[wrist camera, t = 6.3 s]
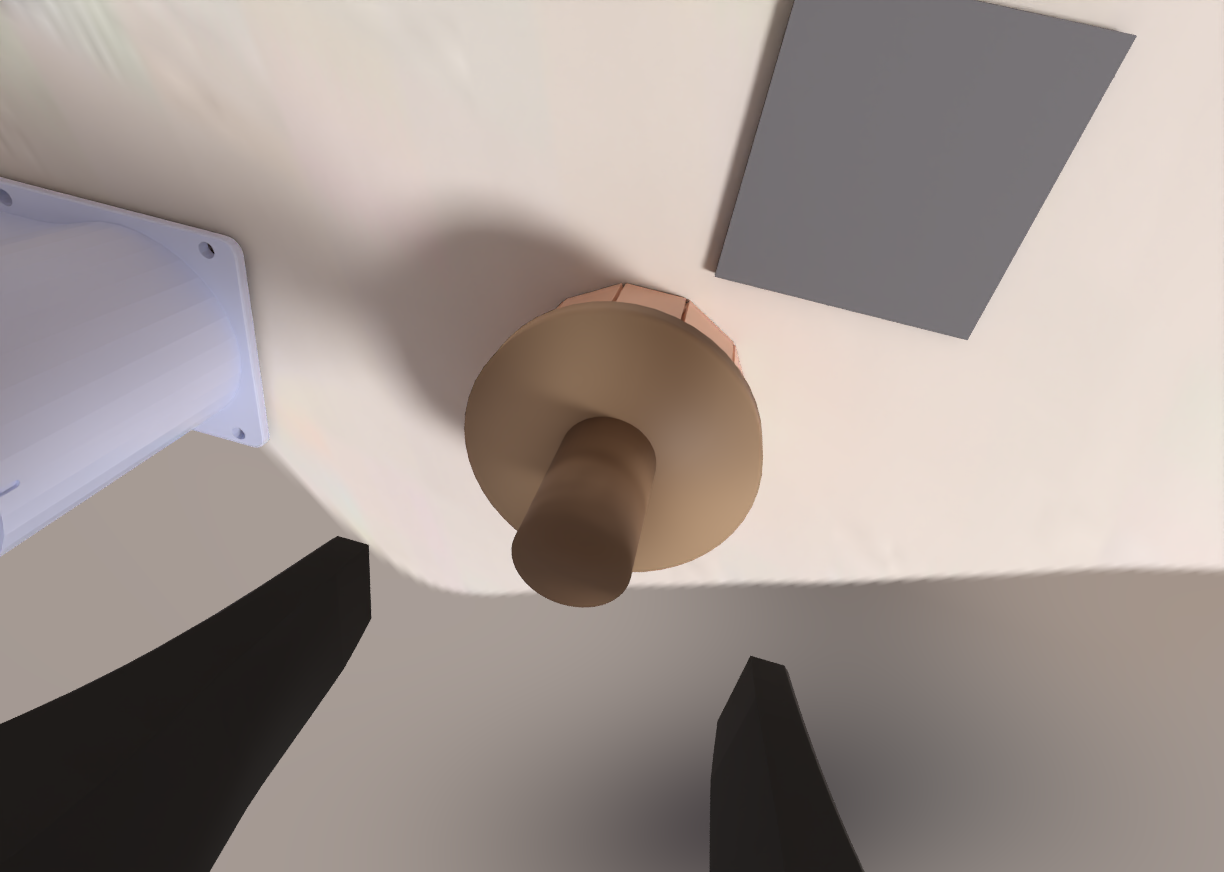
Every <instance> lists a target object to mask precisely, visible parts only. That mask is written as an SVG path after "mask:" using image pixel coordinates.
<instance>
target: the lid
mask: <svg viewBox="0 0 1224 872" xmlns="http://www.w3.org/2000/svg"><path fill="white" fill-rule="evenodd" d="M464 431H465V443H466V449H467V453H468V458H469V462H470V464H471V467H472V470H473V472H474V475H475V477H476V479H477V481H478V483H479V485H480V487H481V489H482V491H483V492H484V494H485V495H486V497H487V498H488V500H489V501H490V503H491V504H492V505H493V507H494V508H495V509H496V510H497V511H498V512H499V514H500V515H501V516H502V517H503V518H504V519H505V520H506V521H507V522H508V523H509V524H510V525H511V526H512V527H513V528H514V529H516V530H517V533H516V535H515V537H514V540H513V543H512V559H513V563H514V565H515V568H516V570H517V572H518V573H519V575H520V576H521V578H522V579H523V580H524V581H525V582H526V584H528V585H529V586H530V587H531V588H532V589H533V590H535V591H536V592H537V593H539V594H540V595H542V596H544V597H545V598H547V599H550V600H552V601H554V602H557V603H560V604H563V605H567V606H573V607H595V606H600V605H603V604H606V603H609V602H611V601H613V600H614V599H616V598H617V597H619V596H620V595H621V594H622V593H623V592H624V591H625V589H626V588H627V586H628V584H629V582H630V578H631V574H632V572H647V571H655V570H662V569H666V568H670V567H675V566H678V565H681V564H684V563H687V562H689V561H692V560H694V559H696V558H698V557H700V556H702V555H704V554H706V553H708V552H709V551H711V550H712V549H714V548H715V547H717V546H718V545H720V544H721V543H722V542H723V541H725V540H726V539H727V538H728V537H729V536H730V535H731V534H732V533H733V532H734V531H735V530H736V529H737V528H738V526H739V525H740V524H741V523H742V522H743V520H744V519H745V517H746V515H747V514H748V512H749V510H750V509H751V507H752V505H753V502H754V500H755V497H756V495H757V493H758V489H759V485H760V480H761V476H762V463H763V446H762V430H761V420H760V416H759V412H758V408H757V404H756V401H755V399H754V396H753V394H752V392H751V389H750V387H749V385H748V383H747V381H746V380H745V378H744V376H743V375H742V373H741V371H740V370H739V368H738V367H737V366H736V365H735V363H734V362H733V361H732V360H731V358H730V357H729V356H728V355H727V354H726V353H725V352H724V351H723V350H722V349H721V348H720V347H719V346H718V345H717V344H716V343H715V342H714V341H713V340H712V339H710V338H709V337H707V336H706V335H705V334H703V333H702V332H701V331H699V330H698V329H696V328H695V327H693V326H692V325H690V324H688V323H686V322H684V321H682V320H681V319H679V318H677V317H675V316H672V315H670V314H667V313H664V312H662V311H659V310H657V309H653V308H650V307H646V306H642V305H638V304H632V303H624V302H616V301H592V302H585V303H578V304H572V305H568V306H565V307H561V308H558V309H554V310H552V311H550V312H547V313H545V314H543V315H541V316H538V317H536V318H535V319H533V320H532V321H530V322H528V323H527V324H525V325H524V326H522V327H521V328H520V329H519V330H517V331H516V332H515V333H514V334H513V335H512V336H510V337H509V338H508V339H507V340H506V342H505V343H504V344H503V345H502V346H501V347H500V349H499V350H498V351H497V352H496V353H495V354H494V355H493V357H492V358H491V359H490V360H489V361H488V363H487V364H486V365H485V366H484V367H483V369H482V371H481V372H480V374H479V376H478V377H477V379H476V381H475V383H474V385H473V388H472V390H471V393H470V395H469V399H468V403H467V408H466V412H465V426H464Z"/></svg>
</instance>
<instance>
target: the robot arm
mask: <svg viewBox="0 0 1224 872" xmlns="http://www.w3.org/2000/svg"><path fill="white" fill-rule="evenodd" d="M208 244H210V246H211V247H212V248H213V250H214V254H213V253H212V252H211V250H210V249H209V247H208ZM191 430H195V431H198V432H202V433H206V434H209V435H213V436H216V437H220V438H224V439H227V440H231V441H234V442H238V443H241V444H245V445H248V446H252V447H261V446H263V445H264V444H265V443H267V441H268V440H269V429H268V422H267V415H266V408H265V401H264V394H263V387H262V380H261V373H260V366H259V359H258V352H257V345H256V338H255V331H254V323H253V316H252V309H251V302H250V295H249V288H248V281H247V274H246V267H245V260H244V254H243V251H242V249H241V247H240V246H239V244H238V243H237V242H236V241H235V240H234V239H233V238H231V237H228V236H226V235H222V234H218V233H214V232H210V231H207V230H203V229H199V228H195V227H191V226H187V225H183V224H180V223H176V222H172V221H168V220H164V219H160V218H156V217H153V216H149V215H145V214H141V213H137V212H133V211H129V210H126V209H122V208H118V207H114V206H110V205H106V204H103V203H99V202H95V201H91V200H87V199H83V198H79V197H76V196H72V195H68V194H64V193H60V192H56V191H52V190H49V189H45V188H41V187H37V186H33V185H29V184H25V183H22V182H18V181H14V180H10V179H6V178H2V177H0V557H1V556H2V555H4V554H5V553H6V552H8V551H10V550H11V549H13V548H14V547H16V546H17V545H19V544H20V543H22V542H23V541H25V540H26V539H28V538H29V537H30V536H32V535H34V534H35V533H37V532H38V531H39V530H41V529H43V528H44V527H46V526H47V525H49V524H50V523H52V522H53V521H55V520H56V519H58V518H59V517H61V516H62V515H64V514H65V513H67V512H68V511H70V510H71V509H73V508H74V507H76V506H77V505H79V504H81V503H82V502H83V501H85V500H87V499H88V498H90V497H91V496H93V495H94V494H96V493H97V492H99V491H100V490H102V489H103V488H105V487H106V486H108V485H109V484H111V483H112V482H114V481H115V480H117V479H118V478H120V477H121V476H123V475H124V474H126V473H127V472H129V471H130V470H132V469H133V468H135V467H136V466H138V465H139V464H141V463H142V462H144V461H145V460H147V459H148V458H150V457H151V456H153V455H154V454H156V453H158V452H159V451H161V450H162V449H164V448H165V447H166V446H168V445H170V444H171V443H173V442H174V441H176V440H177V439H179V438H180V437H182V436H183V435H185V434H186V433H188V432H189V431H191ZM370 598H371V597H370V568H369V545H367V544H364V543H360V542H357V541H353V540H350V539H346V538H342V537H339V536H337V537H335V538H333V539H332V540H330V541H329V542H327V543H326V544H324V545H322V546H321V547H319V548H318V549H316V550H315V551H313V552H312V553H310V554H309V555H307V556H306V557H304V558H303V559H301V560H300V561H298V562H297V563H295V564H294V565H292V566H291V567H289V568H287V569H286V570H284V571H283V572H281V573H280V574H278V575H277V576H275V577H274V578H272V579H271V580H269V581H267V582H266V583H264V584H263V585H262V586H260V587H258V588H257V589H255V590H254V591H252V592H250V593H248V594H247V595H245V596H244V597H242V598H241V599H239V600H238V601H236V602H234V603H232V604H231V605H230V606H228V607H226V608H224V609H223V610H221V611H220V612H218V613H217V614H215V615H213V616H211V617H210V618H208V619H206V620H205V621H203V622H201V623H199V624H198V625H196V626H194V627H192V628H191V629H189V630H187V631H186V632H184V633H182V634H181V635H179V636H177V637H175V638H173V639H172V640H170V641H168V642H166V643H165V644H163V645H161V646H159V647H158V648H156V649H154V650H152V651H150V652H148V653H147V654H145V655H143V656H141V657H139V658H137V659H135V660H134V661H132V662H130V663H128V664H126V665H124V666H122V667H120V668H118V669H116V670H114V671H112V672H110V673H109V674H106V675H104V676H102V677H101V678H98V679H96V680H94V681H92V682H91V683H88V684H86V685H84V686H82V687H80V688H78V689H76V690H74V691H72V692H70V693H68V694H66V695H63V696H61V697H59V698H57V699H55V700H53V701H50V702H48V703H46V704H44V705H42V706H40V707H37V708H35V709H33V710H31V711H29V712H27V713H24V714H22V715H20V716H18V717H15V718H13V719H11V720H8V721H6V722H4V723H2V724H0V872H210V870H211V868H212V867H213V865H214V863H215V862H216V860H217V858H218V856H219V855H220V853H221V851H222V850H223V848H224V846H225V845H226V843H227V841H228V839H229V838H230V836H231V834H232V833H233V831H234V829H235V828H236V826H237V824H238V822H239V821H240V819H241V817H242V816H243V814H244V812H245V811H246V809H247V807H248V806H249V804H250V803H251V801H252V800H253V798H254V797H255V795H256V794H257V792H258V790H259V789H260V787H261V786H262V784H263V783H264V782H265V780H266V779H267V777H268V776H269V774H270V773H271V772H272V770H273V769H274V767H275V766H276V765H277V763H278V762H279V760H280V759H281V758H282V756H283V755H284V753H285V752H286V750H287V749H288V747H289V746H290V745H291V743H292V742H293V741H294V739H295V738H296V736H297V735H298V733H299V732H300V731H301V729H302V728H303V726H304V725H305V724H306V722H307V721H308V719H309V718H310V717H311V715H312V713H313V712H314V711H315V709H316V708H317V706H318V705H319V704H320V702H321V701H322V699H323V698H324V697H325V695H326V694H327V692H328V691H329V689H330V688H331V686H332V685H333V684H334V682H335V681H336V679H337V678H338V676H339V675H340V674H341V672H342V671H343V669H344V667H345V666H346V664H347V662H348V660H349V659H350V657H351V655H352V653H353V651H354V650H355V648H356V646H357V644H358V642H359V640H360V638H361V637H362V635H363V633H364V631H365V629H366V627H367V625H368V623H369V622H370V620H371V599H370ZM710 872H864V870H863V868H862V866H861V863H860V861H859V859H858V857H857V854H856V852H855V850H854V848H853V845H852V843H851V841H850V839H849V836H848V834H847V832H846V829H845V827H844V825H843V823H842V820H841V818H840V815H839V813H838V811H837V808H836V805H835V803H834V800H833V798H832V795H831V793H830V790H829V788H828V785H827V783H826V780H825V778H824V775H823V773H822V770H821V767H820V765H819V762H818V760H817V757H816V754H815V751H814V749H813V746H812V743H811V740H810V737H809V735H808V732H807V729H806V726H805V723H804V720H803V717H802V714H801V712H800V708H799V705H798V702H797V699H796V696H795V693H794V690H793V687H792V683H791V680H790V677H789V674H788V671H787V669H786V668H785V666H784V665H780V664H777V663H773V662H770V661H766V660H763V659H760V658H756V657H753V656H750V658H749V660H748V662H747V664H746V666H745V668H744V670H743V672H742V674H741V676H740V678H739V680H738V682H737V684H736V686H735V688H734V690H733V692H732V694H731V696H730V698H729V700H728V702H727V704H726V706H725V708H724V709H723V711H722V713H721V715H720V718H719V719H718V722H717V730H716V738H715V746H714V754H713V764H712V773H711V790H710Z"/></svg>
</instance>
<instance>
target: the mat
mask: <svg viewBox="0 0 1224 872" xmlns="http://www.w3.org/2000/svg"><path fill="white" fill-rule="evenodd" d="M1135 38H1136V35H1132V34H1127V33H1123V32H1118V31H1114V30H1109V29H1104V28H1100V27H1095V26H1091V25H1086V24H1081V23H1077V22H1072V21H1068V20H1063V19H1059V18H1054V17H1049V16H1045V15H1040V14H1036V13H1031V12H1026V11H1022V10H1017V9H1013V8H1008V7H1004V6H999V5H994V4H990V3H985V2H981V1H976V0H794V3H793V7H792V10H791V14H790V17H789V20H788V24H787V27H786V31H785V34H784V38H783V41H782V45H781V48H780V52H779V55H778V58H777V62H776V65H775V69H774V72H773V76H772V79H771V83H770V86H769V89H768V93H767V96H766V100H765V103H764V107H763V110H762V114H761V117H760V121H759V124H758V127H757V131H756V134H755V138H754V141H753V145H752V148H751V152H750V155H749V159H748V162H747V165H746V169H745V172H744V176H743V179H742V183H741V186H740V190H739V193H738V196H737V200H736V203H735V207H734V210H733V214H732V217H731V221H730V224H729V228H728V231H727V234H726V238H725V241H724V245H723V248H722V252H721V255H720V259H719V262H718V266H717V269H716V272H715V277H718V278H722V279H726V280H730V281H734V282H738V283H742V284H746V285H750V286H754V287H758V288H762V289H766V290H770V291H774V292H778V293H782V294H786V295H790V296H794V297H798V298H802V299H806V300H810V301H814V302H818V303H822V304H826V305H830V306H834V307H838V308H842V309H846V310H849V311H853V312H857V313H861V314H865V315H869V316H873V317H877V318H881V319H885V320H889V321H893V322H897V323H901V324H905V325H909V326H913V327H917V328H921V329H925V330H929V331H933V332H937V333H941V334H945V335H949V336H953V337H957V338H961V339H965V340H968V338H969V336H970V335H971V333H972V331H973V329H974V327H975V326H976V324H977V322H978V320H979V318H980V317H981V315H982V313H983V311H984V310H985V308H986V306H987V304H988V302H989V301H990V299H991V297H992V295H993V293H994V292H995V290H996V288H997V286H998V284H999V283H1000V281H1001V279H1002V277H1003V275H1004V274H1005V272H1006V270H1007V268H1008V266H1009V265H1010V263H1011V261H1012V259H1013V257H1014V256H1015V254H1016V252H1017V250H1018V248H1019V247H1020V245H1021V243H1022V241H1023V239H1024V238H1025V236H1026V234H1027V232H1028V230H1029V229H1030V227H1031V225H1032V223H1033V221H1034V220H1035V218H1036V216H1037V214H1038V212H1039V211H1040V209H1041V207H1042V205H1043V203H1044V202H1045V200H1046V198H1047V196H1048V194H1049V193H1050V191H1051V189H1052V187H1053V185H1054V184H1055V182H1056V180H1057V178H1058V177H1059V175H1060V173H1061V171H1062V169H1063V168H1064V166H1065V164H1066V162H1067V160H1068V159H1069V157H1070V155H1071V153H1072V151H1073V150H1074V148H1075V146H1076V144H1077V142H1078V141H1079V139H1080V137H1081V135H1082V133H1083V132H1084V130H1085V128H1086V126H1087V124H1088V123H1089V121H1090V119H1091V117H1092V115H1093V114H1094V112H1095V110H1096V108H1097V106H1098V105H1099V103H1100V101H1101V99H1102V97H1103V96H1104V94H1105V92H1106V90H1107V88H1108V87H1109V85H1110V83H1111V81H1112V79H1113V78H1114V76H1115V74H1116V72H1117V70H1118V69H1119V67H1120V65H1121V63H1122V61H1123V60H1124V58H1125V56H1126V54H1127V53H1128V51H1129V49H1130V47H1131V45H1132V44H1133V42H1134V40H1135Z"/></svg>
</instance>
